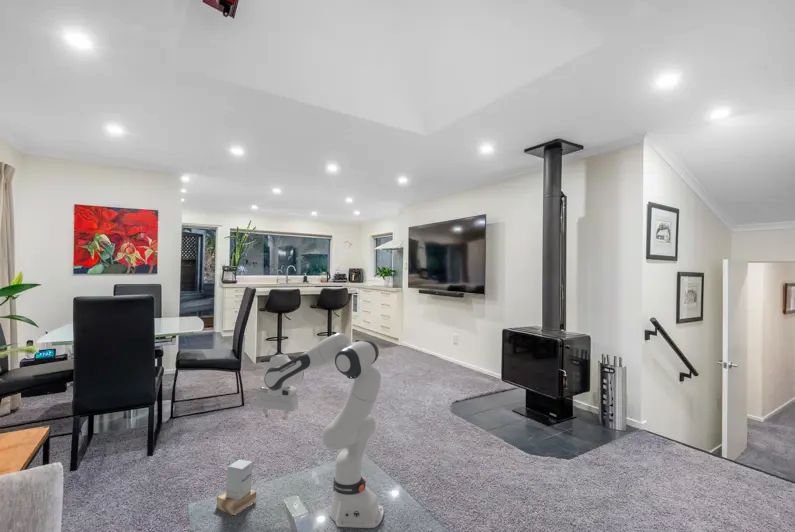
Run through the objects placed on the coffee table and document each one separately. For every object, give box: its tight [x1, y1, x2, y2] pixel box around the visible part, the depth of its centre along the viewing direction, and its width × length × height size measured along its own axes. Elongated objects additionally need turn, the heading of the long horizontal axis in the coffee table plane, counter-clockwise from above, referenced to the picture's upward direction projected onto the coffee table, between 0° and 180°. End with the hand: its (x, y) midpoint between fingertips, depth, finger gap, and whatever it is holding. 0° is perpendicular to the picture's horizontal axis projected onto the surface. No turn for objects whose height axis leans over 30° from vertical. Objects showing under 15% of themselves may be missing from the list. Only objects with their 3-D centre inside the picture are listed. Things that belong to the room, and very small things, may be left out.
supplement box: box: [225, 459, 254, 500], centre depth 157 cm, size 7×7×13 cm
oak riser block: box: [216, 489, 257, 516], centre depth 156 cm, size 11×11×5 cm
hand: (276, 418), depth 173 cm, fingers open, 8 cm apart
